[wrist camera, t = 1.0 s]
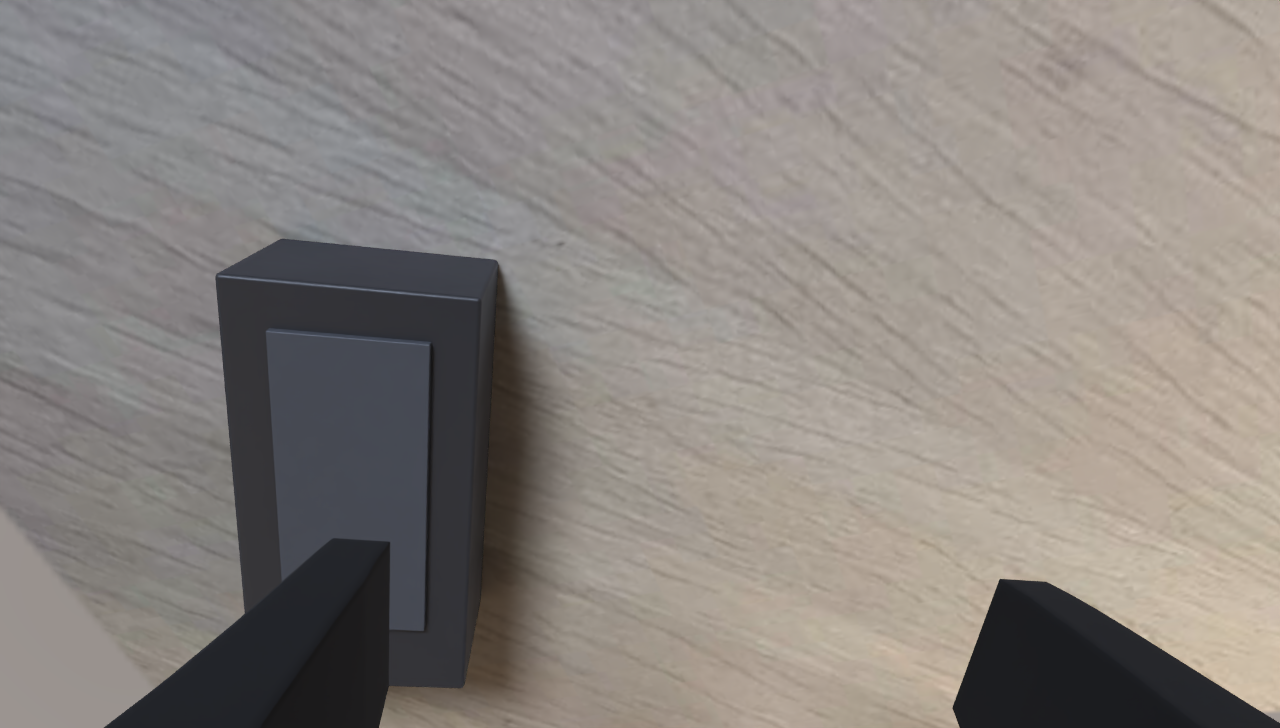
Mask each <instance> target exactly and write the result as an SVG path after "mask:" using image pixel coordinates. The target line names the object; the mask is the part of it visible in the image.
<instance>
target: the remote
mask: <svg viewBox="0 0 1280 728" xmlns="http://www.w3.org/2000/svg"><path fill="white" fill-rule="evenodd" d="M497 278H498V262H497V261H496V260H491V259H481V258H471V257H460V256H450V255H440V254H430V253H420V252H410V251H400V250H390V249H380V248H370V247H360V246H350V245H340V244H329V243H319V242H309V241H299V240H289V239H280V240H278V241H276V242H274V243H273V244H271V245H269V246H267V247H265V248H263V249H262V250H260V251H258V252H256V253H254V254H252V255H251V256H249V257H247V258H245V259H243V260H241V261H240V262H238V263H236V264H234V265H232V266H230V267H229V268H227V269H225V270H223V271H221V272H219V273H218V274H217V275H216V289H217V301H218V312H219V324H220V335H221V346H222V358H223V369H224V381H225V392H226V403H227V415H228V426H229V438H230V449H231V460H232V472H233V483H234V495H235V506H236V517H237V529H238V540H239V552H240V563H241V574H242V586H243V597H244V609H245V613H247V612H248V611H249V610H250V609H251V608H252V607H253V606H255V605H256V604H257V603H258V602H259V601H260V600H262V599H263V598H264V597H265V596H266V595H267V594H268V593H270V592H271V591H272V590H273V589H274V588H275V587H276V586H278V585H279V584H280V583H281V582H282V581H283V580H284V579H285V578H287V577H288V576H289V575H290V574H291V573H292V572H293V571H295V570H296V569H297V568H298V567H299V566H300V565H301V564H302V563H304V562H305V561H306V560H307V559H308V558H309V557H310V556H312V555H313V554H314V553H315V552H316V551H317V550H319V549H320V548H321V547H322V546H323V545H325V544H326V543H327V542H329V541H330V540H331V539H332V538H339V539H355V540H372V541H388V542H390V608H389V686H407V687H438V688H463V686H464V684H465V679H466V674H467V669H468V663H469V658H470V653H471V647H472V642H473V637H474V631H475V626H476V621H477V615H478V610H479V605H480V599H481V580H482V562H483V543H484V524H485V505H486V486H487V467H488V448H489V429H490V410H491V392H492V373H493V354H494V335H495V316H496V297H497Z"/></svg>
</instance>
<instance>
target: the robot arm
mask: <svg viewBox="0 0 1280 728" xmlns="http://www.w3.org/2000/svg"><path fill="white" fill-rule="evenodd" d="M389 608H390V542H388V541H372V540H355V539H339V538H332V539H331V540H330V541H329V542H327V543H326V544H325V545H323V546H322V547H321V548H320V549H319V550H317V551H316V552H315V553H314V554H313V555H312V556H310V557H309V558H308V559H307V560H306V561H305V562H304V563H302V564H301V565H300V566H299V567H298V568H297V569H296V570H295V571H293V572H292V573H291V574H290V575H289V576H288V577H287V578H285V579H284V580H283V581H282V582H281V583H280V584H279V585H278V586H276V587H275V588H274V589H273V590H272V591H271V592H270V593H268V594H267V595H266V596H265V597H264V598H263V599H262V600H260V601H259V602H258V603H257V604H256V605H255V606H253V607H252V608H251V609H250V610H249V611H248V612H247V613H245V614H244V615H243V616H242V617H241V618H240V619H238V620H237V621H236V622H235V623H234V624H233V625H231V626H230V627H229V628H228V629H227V630H225V631H224V632H223V633H222V634H221V635H219V636H218V637H217V638H216V639H215V640H213V641H212V642H211V643H210V644H209V645H207V646H206V647H205V648H204V649H203V650H201V651H200V652H199V653H198V654H197V655H195V656H194V657H193V658H192V659H191V660H189V661H188V662H187V663H186V664H184V665H183V666H182V667H181V668H180V669H178V670H177V671H176V672H175V673H174V674H172V675H171V676H170V677H169V678H167V679H166V680H165V681H164V682H162V683H161V684H160V685H159V686H157V687H156V688H155V689H154V690H152V691H151V692H150V693H148V694H147V695H146V696H145V697H144V698H142V699H141V700H139V701H138V702H137V703H135V704H134V705H133V706H132V707H130V708H129V709H128V710H126V711H125V712H124V713H122V714H121V715H120V716H118V717H117V718H116V719H115V720H113V721H112V722H111V723H109V724H108V725H107V726H105V727H104V728H379V724H380V720H381V716H382V712H383V708H384V704H385V699H386V695H387V691H388V687H389ZM953 711H954V713H955V716H956V718H957V721H958V724H959V726H960V728H1280V723H1279V722H1277V721H1275V720H1274V719H1272V718H1270V717H1269V716H1267V715H1266V714H1264V713H1262V712H1261V711H1259V710H1257V709H1256V708H1254V707H1253V706H1251V705H1249V704H1248V703H1246V702H1245V701H1243V700H1241V699H1240V698H1238V697H1237V696H1235V695H1233V694H1232V693H1230V692H1229V691H1227V690H1225V689H1224V688H1222V687H1221V686H1219V685H1217V684H1216V683H1214V682H1213V681H1211V680H1209V679H1208V678H1206V677H1205V676H1203V675H1201V674H1200V673H1198V672H1197V671H1195V670H1194V669H1192V668H1190V667H1189V666H1187V665H1186V664H1184V663H1182V662H1181V661H1179V660H1178V659H1176V658H1174V657H1173V656H1171V655H1170V654H1168V653H1166V652H1165V651H1163V650H1162V649H1160V648H1158V647H1157V646H1155V645H1154V644H1152V643H1151V642H1149V641H1147V640H1146V639H1144V638H1143V637H1141V636H1139V635H1138V634H1136V633H1134V632H1133V631H1131V630H1130V629H1128V628H1126V627H1125V626H1123V625H1122V624H1120V623H1118V622H1117V621H1115V620H1113V619H1112V618H1110V617H1108V616H1107V615H1105V614H1103V613H1102V612H1100V611H1098V610H1097V609H1095V608H1093V607H1092V606H1090V605H1088V604H1086V603H1085V602H1083V601H1081V600H1079V599H1078V598H1076V597H1074V596H1072V595H1070V594H1069V593H1067V592H1065V591H1063V590H1061V589H1059V588H1057V587H1055V586H1053V585H1051V584H1049V583H1047V582H1040V581H1023V580H1007V579H1000V580H999V583H998V585H997V588H996V591H995V593H994V596H993V599H992V602H991V604H990V607H989V610H988V613H987V615H986V618H985V621H984V623H983V626H982V629H981V632H980V634H979V637H978V640H977V642H976V645H975V648H974V651H973V653H972V656H971V659H970V662H969V664H968V667H967V670H966V672H965V675H964V678H963V681H962V683H961V686H960V689H959V691H958V694H957V697H956V700H955V702H954V705H953Z"/></svg>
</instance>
